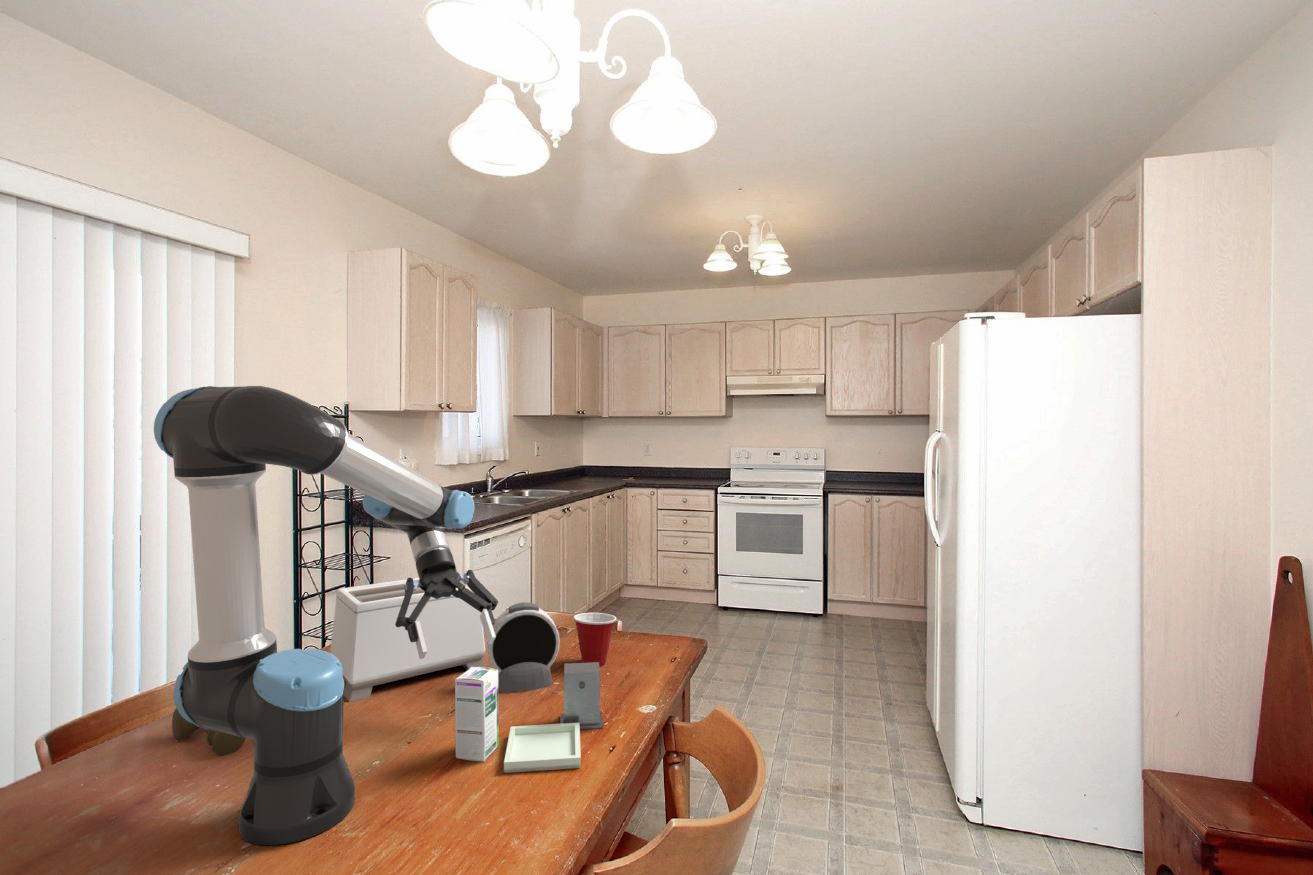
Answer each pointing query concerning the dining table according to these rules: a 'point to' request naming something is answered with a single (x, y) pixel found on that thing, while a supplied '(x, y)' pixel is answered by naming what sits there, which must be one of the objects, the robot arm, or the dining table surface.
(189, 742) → the dining table surface
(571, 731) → the tray
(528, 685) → the alarm clock
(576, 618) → the plastic cup
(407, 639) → the toaster
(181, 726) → the kendama
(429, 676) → the dining table surface
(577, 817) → the dining table surface
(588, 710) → the gray phone stand
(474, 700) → the syrup box
